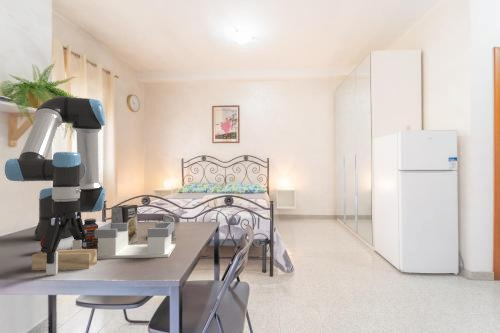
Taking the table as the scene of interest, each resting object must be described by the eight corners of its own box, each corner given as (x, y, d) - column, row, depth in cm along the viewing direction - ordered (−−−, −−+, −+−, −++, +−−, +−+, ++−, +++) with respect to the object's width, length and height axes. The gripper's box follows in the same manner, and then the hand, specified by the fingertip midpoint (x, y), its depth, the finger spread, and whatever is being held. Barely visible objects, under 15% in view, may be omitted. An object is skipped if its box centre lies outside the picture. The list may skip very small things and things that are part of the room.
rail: (42, 265, 90) (42, 250, 90) (96, 264, 91) (96, 249, 91) (31, 271, 85) (31, 254, 85) (89, 269, 86) (89, 253, 86)
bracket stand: (109, 247, 109) (109, 222, 109) (175, 246, 112) (175, 221, 112) (92, 259, 95) (92, 230, 95) (168, 257, 98) (168, 229, 98)
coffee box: (124, 247, 110) (124, 207, 110) (110, 246, 111) (110, 206, 111) (137, 241, 119) (138, 204, 119) (124, 240, 120) (124, 204, 120)
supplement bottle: (85, 250, 105) (86, 221, 106) (77, 248, 108) (78, 219, 109) (101, 246, 110) (101, 218, 111) (93, 244, 114) (93, 217, 114)
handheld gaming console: (146, 237, 127) (146, 215, 127) (165, 234, 133) (165, 213, 133) (155, 243, 117) (155, 219, 117) (176, 239, 122) (176, 217, 122)
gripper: (54, 204, 76) (53, 281, 76) (96, 196, 101) (95, 254, 100) (25, 204, 75) (24, 281, 75) (75, 196, 100) (74, 254, 100)
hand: (65, 266), depth 88 cm, fingers open, 13 cm apart
